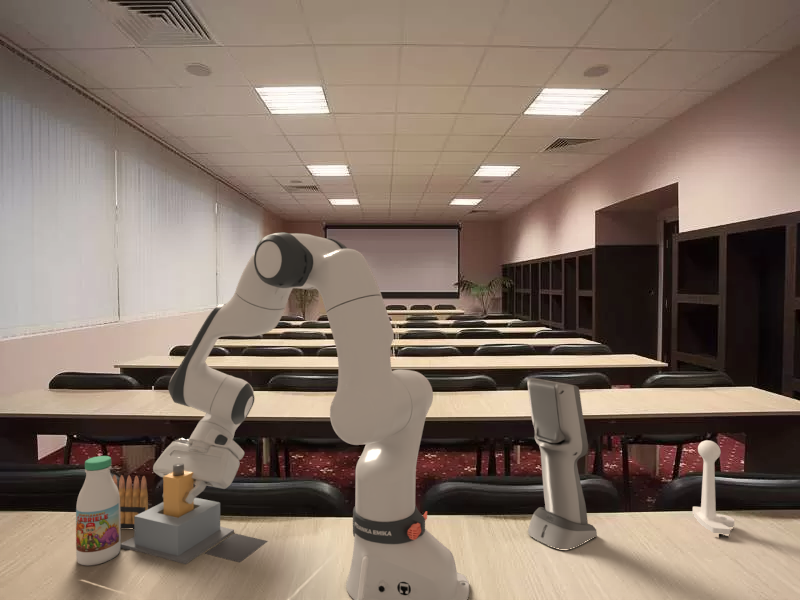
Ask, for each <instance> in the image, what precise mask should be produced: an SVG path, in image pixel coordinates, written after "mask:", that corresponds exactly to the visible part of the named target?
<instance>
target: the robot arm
mask: <svg viewBox="0 0 800 600" xmlns="http://www.w3.org/2000/svg"><path fill="white" fill-rule="evenodd" d="M254 250H255V251H254V252H253V254H252V255H251V256H250V258H249V259H248V262H247V264H246V265H245V267H244V269H243V272H241V275H240V278H239V280H238V282H237V286H236V288H235V291H234V294H233V296H232V297H231V298H230V300H229V301H227V303H220V304H218V305H217V306H216V307H214V308H213V309H212V311H211V312H210V313H209V314H208V316H207V317H206V319H205V320H204V322H203V324H202V326H201V327H200V328H199V330H198V333H197V334H196V336H195V338H194V340H193V341H192V343H191V345H190V347H189V349H188V350H187V352H186V354H185V355H184V358H183V360H182V361H181V362H180V364H179V366H178V367H177V369H176V370H175V371H174V373H173V374H172V375H171V378H170V380H169V383H168V386H167V389H168V392H169V396H170V397H171V400H172V401H173V403H174V404H178V405H182V406H185V407H188V408H193V409H194V410H195V409H196V410H198V411H200V412H203V413H205V414H204V416H203V417H202V418H201V419H200V420H199V421H198V423H197V425H196V427H195V428H194V430H193V431H192V433H191V435H190V437H188V438H187V439H185V438H183V437H181V438H180V437H179V438H177V439H176V440H173V441H171V443H170V444H169V445H168V446H167V447H166V448H165V449H164V451H162V453H161V454H160V456H159V457H158V458H157V460H156V461H155V462H154V464H153V467H152V469H153V470H152V472H154V473H155V474H156V475H157V476H159V477H160V478H163V476H165V475H168V474H170V473H172V472H173V465H175V464H179V463H183V464H184V471H189V472H193V475H192V479H193V489H192V490H191V491H190V492H189V493H188V492H186V493H185V495H184V497H183V499H182V501H183V502H185V503H188V504H191V503H192V502H193V500H194V498H197V497H198V496H199V495H200V494H201V493H202V492H204V491H205V489H206V487H207V486H208V487H213V488H218V489H223V490H225V489H227V488H228V487H229V486H231V484H232V483H233V481H234V479H235V477H236V475H237V473H238V470H239V468H240V461H241V460H242V459H243V457H244V456H245V451H244V450H243V449H242V448H241V446H240V445H239V443H237V442H236V441H235V440H234V436H235V432H236V430H237V429H238V427H239V426H240V425H241V424H242V423H243V422H245V421H246V419H247V417H248V416H249V414H250V412H251V410H252V408H253V406H254V403H255V393H254V392H255V391H254V388H253V387H252V385H251V384H250V383H249V382H248V381H247V380H245V379H243V378H240V377H236V376H233V375H231V374H230V375H229V374H227V373H224V372H222V371H219V370H217V369H214V368H212V367H210V366H209V365H208V364H207V363H206V361H207V359H208V357H209V356H210V354H211V352H212V350H213V348H214V347H215V345H216V343H217V342H218V340H219V338H221V337H222V338H223V337H257V336H261V335H264V334H268V333H269V332H271V331H272V330H274V329H275V328H276V327H277V326H278V325H279V323H280V320H281V319H282V317H283V314H284V312H285V309H286V307H287V304H288V301H289V298H290V295H291V292H292V291H293V289H302V290H317V292H318V293H319V294H320V297H321V300H322V303H323V306H324V311H325V314H326V317H327V319H328V324H329V326H330V331H331V334H332V337H333V340H334V341H333V342H334V345H335V349H336V353H337V362H338V363H337V364H338V365H337V366H338V374H337V375H338V376H337V377H338V379H337V388H336V393H335V395H334V397H333V399H332V402H331V403H330V408H329V419H330V423H331V426H332V429H333V431H334V432H335V434H336V435H337V436H338V438H339V439H341V440H342V441H343V442H345V443H347V444H350V445H353V446H359V445H365V446H364V448H363V451H362V453H361V455H360V457H359V459H358V460H357V462H356V466H355V494H354V495H355V498H354V499H355V504H354V505H355V506H354V507H353V509H352V514H353V515H352V534H353V538H354V539H353V551H352V558H351V565H350V569H349V573H348V577H347V580H346V583H345V584H346V585H345V586H346V591H347V593H348V595H349V597H351V598H352V600H467V599H468V600H469V598H468V597H470V584H469V580H468V578H467V576H466V575H465V574H462V573H459V572H457V566H456V565H457V564H456V562H455V557H454V555H453V552H452V551H451V550H450V549H449V548H448V547H447V546H445V544H443V543H442V542H440V540H438V538H436V537H435V536H434V535H433V534H432V533H431V532H430V531H428V530H427V528H426V521H427V519H428V511H425V512H424V514H422V513H421V512H420V511H419V510H418V507H417V506H416V480H417V479H416V477H417V475H416V472H417V471H416V470H417V462H418V456H419V452H420V451H419V450H420V445H421V441H422V436H423V431H424V426H425V422H426V417H427V416H428V412H429V410H430V408H431V406H432V405H433V399H434V393H433V392H434V391H433V387H432V385H431V383H430V381H429V379H428V378H427V377H426V376H424V375H423V374H422V373H420V372H419V371H415V370H411V369H401V368H400V369H394V370H392V362H391V348H392V344H393V341H394V338H395V335H394V330H393V327H392V323H391V320H390V317H389V314H388V311H387V308H386V304H385V302H384V298H383V295H382V292H381V290H380V287H379V284H378V282H377V280H376V278H375V275H374V273H373V271H372V269H371V267H370V265H369V263H368V261H367V259H366V258H365V256H364V255H363V254H362V252H360V251H358V249H357V250H356V249H353V248H348V247H347V246H346V245H345V244H343V243H342V242H340V241H339V240H336V239H333V238H327V237H326V238H325V237H321V236H317V235H313V234H309V233H298V232H297V233H296V232H295V233H288V232H275V233H274V232H273V233H271V234H267V235H265V236H263V237H262V238H261V240H259V242H258V244H257V245H256V248H255V249H254ZM162 498H164V495H163V494H162Z"/></svg>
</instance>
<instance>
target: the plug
mask: <svg viewBox="0 0 800 600" xmlns="http://www.w3.org/2000/svg"><path fill="white" fill-rule="evenodd" d="M192 475H193V472H189V471H184V464H183V463H179V464H175V465H173V472H172V473H170V474H168V475H165V476H163V477H162V480H163V482H162V483H163V485H162V487H163V493H162V496H163V495H164V497H163V502H164V515H168V516H173V517H177V518H179V517H181V516H182V515H184V514H186V513H188V512H190V511H192V510H193V509H194V500H193V502H192V503H191V504H188V503H185V502H183V501H182V499H183V497H184V495H185V493H186V492H188V493H189V492H190V491H191V490H192V489H193V488H194V483H193V479H192Z"/></svg>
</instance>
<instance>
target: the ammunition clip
mask: <svg viewBox="0 0 800 600" xmlns="http://www.w3.org/2000/svg"><path fill="white" fill-rule="evenodd" d="M112 479H113V481H114V483H115V484H116V486H117V488H118V491H119V496H120V525H121V528H133V529H134V516H136V515H138V514H140V513H142V512H144V511H146V510H148V509H150V504H149V502H148V501H149V500H148V499H149V498H148V497H149V495H148V487H147V485H148V484H147V478H146V476H145V475H143V476H142V478H141V481H140V480H139V479H140V478H139V476H138V475H135V477H134V480H133V481H132V477H131V476H130V474H129V475H128V476H127V479H126V482H125V478H124V475H122V474H121V475H120V477H119V481H118V479H117V476H116V474H113V475H112ZM132 482H133V483H132ZM133 529H132V530H133Z"/></svg>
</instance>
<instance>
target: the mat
mask: <svg viewBox="0 0 800 600" xmlns="http://www.w3.org/2000/svg"><path fill="white" fill-rule="evenodd" d="M268 542H269V541H268V540H265V539H262V538H256V537H254V536H253V537H252V536H248V535H245V534H244V535H243V534H239V533H234V532H233V533H232V534H230V535H229V536H227V537H226V538H224V539H223V540H221V541H220V542H218V543H217V544H215V545H214V546H212V547H211V548H209V549H208V550H206V551H205V552H203V553H204V555H208V556H212V557H213V556H214V557H217V558H220V559H225V560H228V561H232V562H237V563H242V562H243V561H244V560H245V559H246V558H248V557H249V556H251V555H252V554H253V553H255V551H257V550H258V549H260V548H261V547H262V546H263V545H265V544H266V543H268Z"/></svg>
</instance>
